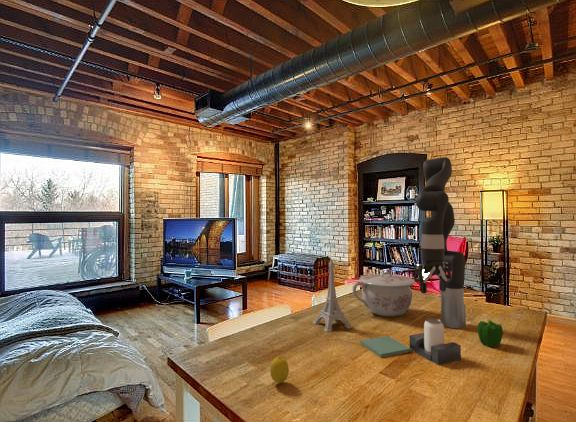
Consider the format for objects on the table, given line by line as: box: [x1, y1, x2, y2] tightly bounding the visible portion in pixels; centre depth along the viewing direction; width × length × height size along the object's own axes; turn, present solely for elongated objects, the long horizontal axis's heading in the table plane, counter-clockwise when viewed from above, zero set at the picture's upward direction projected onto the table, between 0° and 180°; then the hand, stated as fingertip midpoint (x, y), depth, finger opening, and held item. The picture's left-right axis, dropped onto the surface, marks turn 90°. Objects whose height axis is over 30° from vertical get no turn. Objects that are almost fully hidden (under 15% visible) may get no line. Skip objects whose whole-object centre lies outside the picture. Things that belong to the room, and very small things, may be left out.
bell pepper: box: [476, 319, 504, 348], centre depth 122 cm, size 8×8×10 cm
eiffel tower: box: [312, 258, 354, 333], centre depth 145 cm, size 13×13×30 cm
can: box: [423, 317, 445, 353], centre depth 114 cm, size 6×6×12 cm
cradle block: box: [409, 332, 462, 366], centre depth 114 cm, size 11×14×5 cm
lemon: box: [269, 356, 290, 385], centre depth 95 cm, size 6×6×8 cm
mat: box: [359, 335, 412, 358], centre depth 120 cm, size 13×13×1 cm
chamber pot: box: [351, 271, 416, 318], centre depth 162 cm, size 28×28×21 cm
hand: (433, 292), depth 114 cm, fingers open, 8 cm apart
